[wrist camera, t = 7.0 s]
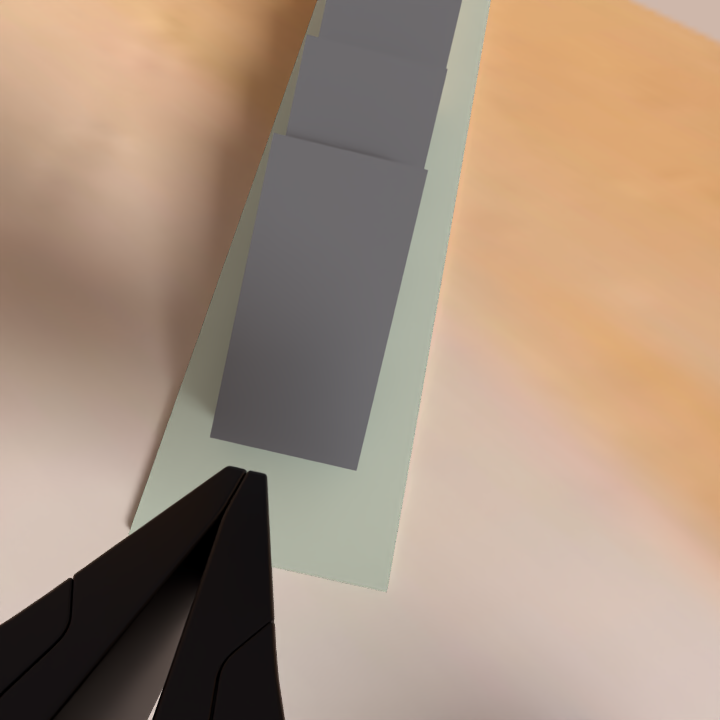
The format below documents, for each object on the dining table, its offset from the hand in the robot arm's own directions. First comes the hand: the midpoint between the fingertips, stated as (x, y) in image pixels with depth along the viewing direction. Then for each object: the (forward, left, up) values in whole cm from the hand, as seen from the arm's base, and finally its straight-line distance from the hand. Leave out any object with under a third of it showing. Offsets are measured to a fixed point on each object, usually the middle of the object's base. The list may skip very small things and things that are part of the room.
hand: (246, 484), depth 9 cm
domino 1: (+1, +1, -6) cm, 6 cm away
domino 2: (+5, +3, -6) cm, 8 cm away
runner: (+10, +7, -7) cm, 14 cm away
